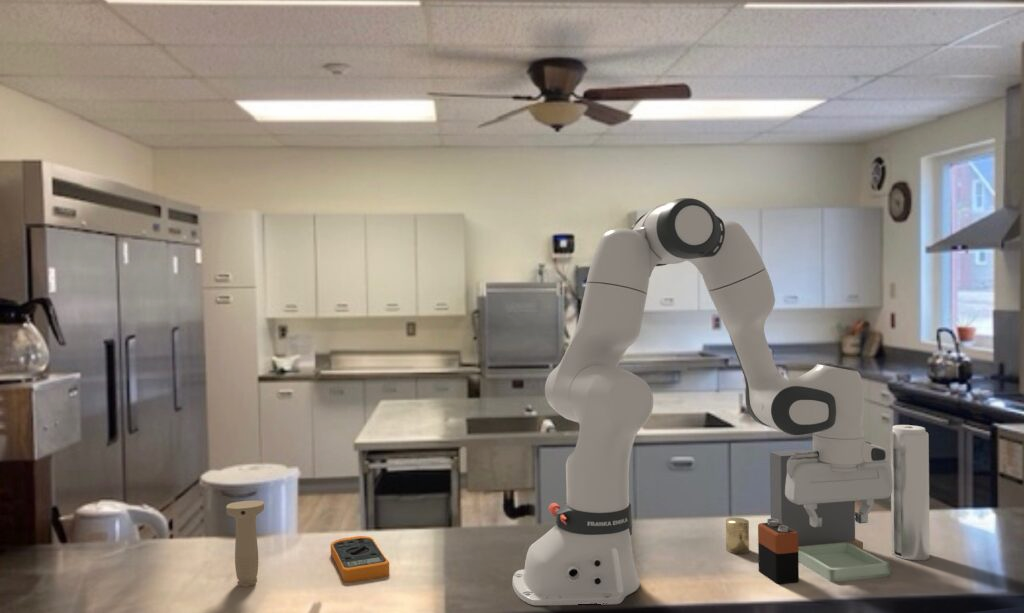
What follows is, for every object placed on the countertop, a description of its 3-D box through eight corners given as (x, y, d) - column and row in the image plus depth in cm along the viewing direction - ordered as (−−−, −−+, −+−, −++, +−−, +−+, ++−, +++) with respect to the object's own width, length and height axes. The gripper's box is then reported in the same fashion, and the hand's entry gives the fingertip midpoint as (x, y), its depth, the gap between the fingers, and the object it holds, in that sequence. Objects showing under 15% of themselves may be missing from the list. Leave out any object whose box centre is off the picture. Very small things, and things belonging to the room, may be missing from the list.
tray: (830, 582, 130) (830, 570, 130) (792, 558, 141) (792, 547, 141) (890, 576, 132) (890, 564, 132) (848, 553, 144) (848, 542, 144)
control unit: (780, 557, 142) (778, 457, 142) (763, 547, 148) (762, 451, 147) (863, 549, 145) (861, 452, 145) (843, 540, 151) (842, 445, 151)
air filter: (934, 561, 138) (933, 430, 138) (897, 559, 140) (896, 429, 139) (922, 549, 145) (921, 423, 144) (887, 548, 146) (886, 423, 146)
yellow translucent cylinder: (732, 555, 144) (732, 525, 144) (722, 548, 148) (721, 518, 148) (753, 553, 144) (753, 523, 144) (742, 546, 149) (742, 516, 149)
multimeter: (371, 549, 152) (370, 533, 152) (391, 580, 135) (390, 561, 135) (329, 555, 149) (328, 539, 149) (344, 588, 132) (343, 569, 132)
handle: (263, 590, 131) (261, 506, 131) (226, 593, 130) (223, 509, 130) (267, 580, 136) (265, 499, 135) (231, 583, 135) (229, 502, 134)
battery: (779, 569, 136) (778, 516, 136) (800, 583, 129) (799, 527, 129) (757, 572, 135) (756, 518, 135) (777, 586, 128) (776, 529, 128)
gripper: (797, 457, 131) (797, 533, 131) (898, 450, 135) (898, 525, 135) (777, 449, 137) (778, 523, 138) (875, 444, 141) (875, 515, 141)
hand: (838, 524), depth 136 cm, fingers open, 8 cm apart
